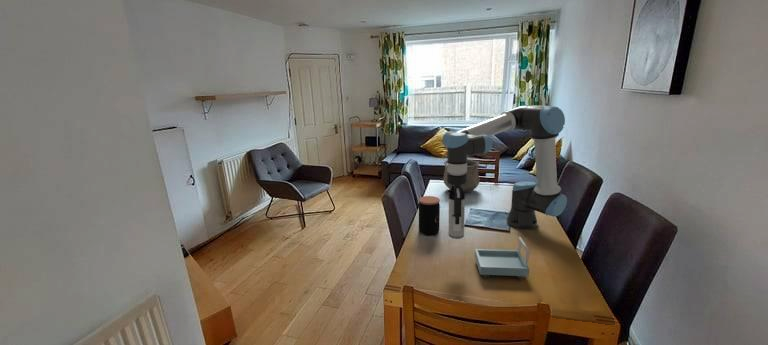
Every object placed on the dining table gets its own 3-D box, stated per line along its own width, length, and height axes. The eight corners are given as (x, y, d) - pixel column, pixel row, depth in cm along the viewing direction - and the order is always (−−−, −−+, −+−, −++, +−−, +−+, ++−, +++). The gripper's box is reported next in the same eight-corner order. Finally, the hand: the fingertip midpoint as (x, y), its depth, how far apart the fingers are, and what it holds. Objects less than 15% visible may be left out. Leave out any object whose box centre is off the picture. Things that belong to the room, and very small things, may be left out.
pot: (443, 196, 217) (444, 166, 212) (443, 185, 240) (443, 158, 234) (481, 197, 213) (482, 166, 208) (477, 186, 236) (478, 158, 230)
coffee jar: (438, 237, 159) (439, 203, 155) (417, 235, 161) (417, 202, 157) (439, 228, 169) (440, 196, 165) (419, 226, 171) (419, 195, 167)
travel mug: (445, 232, 134) (446, 188, 128) (461, 231, 134) (462, 186, 129) (450, 239, 128) (450, 193, 122) (466, 238, 128) (467, 191, 123)
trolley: (517, 261, 135) (520, 235, 132) (528, 281, 122) (531, 252, 118) (474, 260, 137) (475, 234, 134) (479, 279, 124) (481, 250, 120)
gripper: (445, 166, 133) (445, 217, 140) (449, 180, 115) (448, 237, 121) (463, 166, 132) (462, 217, 139) (470, 180, 114) (468, 238, 120)
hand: (455, 226), depth 130 cm, fingers closed on travel mug, 6 cm apart
